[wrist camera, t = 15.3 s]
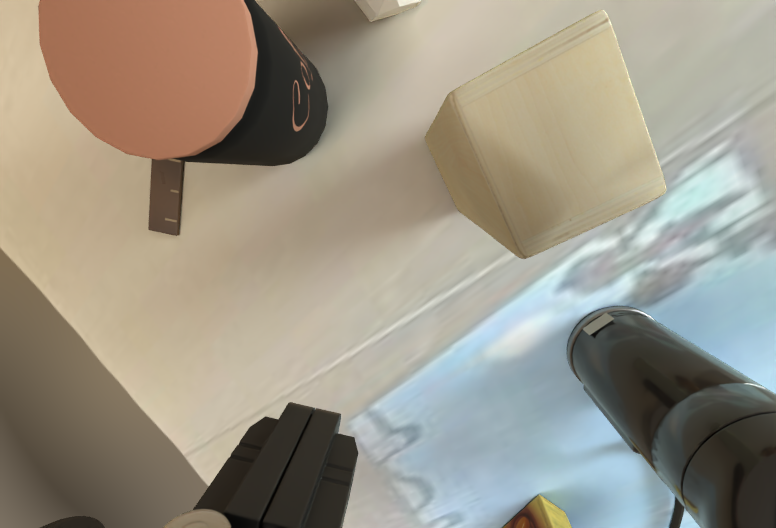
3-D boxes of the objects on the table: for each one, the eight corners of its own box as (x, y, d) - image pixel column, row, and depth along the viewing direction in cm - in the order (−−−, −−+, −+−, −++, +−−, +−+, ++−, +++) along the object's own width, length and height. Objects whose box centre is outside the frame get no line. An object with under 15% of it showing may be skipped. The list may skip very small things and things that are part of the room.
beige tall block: (530, 178, 36) (689, 186, 15) (459, 213, 37) (519, 264, 16) (496, 98, 34) (623, -11, 14) (423, 137, 35) (440, 89, 15)
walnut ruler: (178, 235, 39) (176, 235, 39) (150, 229, 39) (147, 229, 39) (189, 80, 35) (186, 79, 35) (158, 74, 35) (155, 73, 35)
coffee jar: (345, 147, 36) (283, 124, 19) (243, 179, 37) (96, 185, 20) (309, 28, 34) (200, -127, 16) (202, 66, 35) (-5, -39, 18)
